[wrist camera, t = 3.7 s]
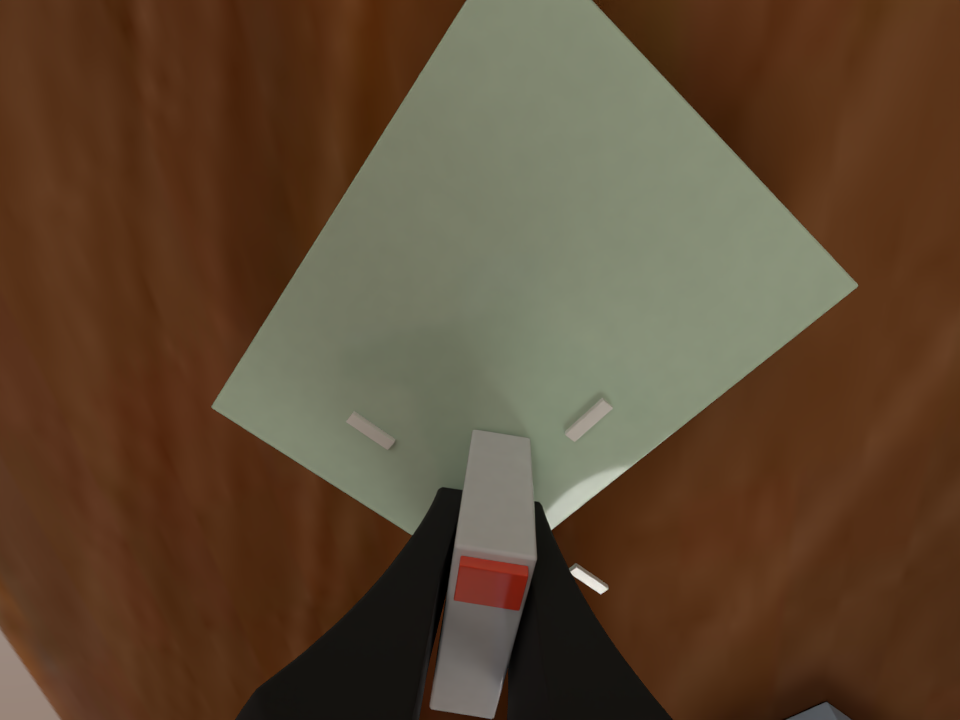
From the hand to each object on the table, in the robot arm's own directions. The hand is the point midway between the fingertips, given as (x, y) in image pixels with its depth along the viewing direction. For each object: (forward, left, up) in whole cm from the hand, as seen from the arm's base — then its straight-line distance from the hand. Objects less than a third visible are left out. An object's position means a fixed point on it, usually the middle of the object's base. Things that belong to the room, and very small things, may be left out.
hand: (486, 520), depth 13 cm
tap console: (+3, +2, -4) cm, 5 cm away
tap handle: (0, 0, 0) cm, 0 cm away
